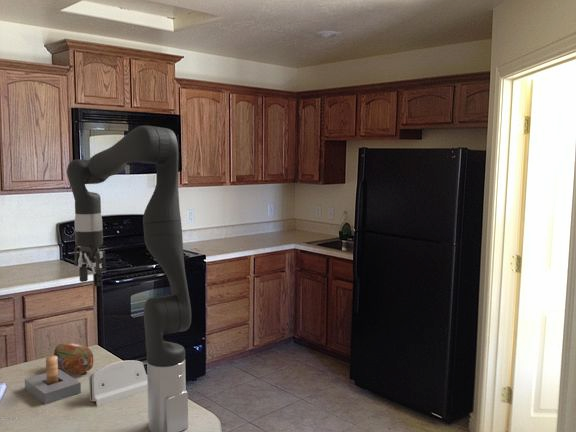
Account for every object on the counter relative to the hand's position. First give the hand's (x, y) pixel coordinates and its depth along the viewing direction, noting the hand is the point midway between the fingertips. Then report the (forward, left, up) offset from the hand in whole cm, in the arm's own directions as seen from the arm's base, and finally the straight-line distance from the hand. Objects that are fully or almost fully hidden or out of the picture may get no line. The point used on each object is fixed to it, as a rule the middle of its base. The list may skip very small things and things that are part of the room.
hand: (90, 283), depth 155 cm
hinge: (-12, -2, -30) cm, 33 cm away
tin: (+13, 0, -30) cm, 33 cm away
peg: (+3, +11, -30) cm, 32 cm away
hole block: (+3, +11, -30) cm, 32 cm away
